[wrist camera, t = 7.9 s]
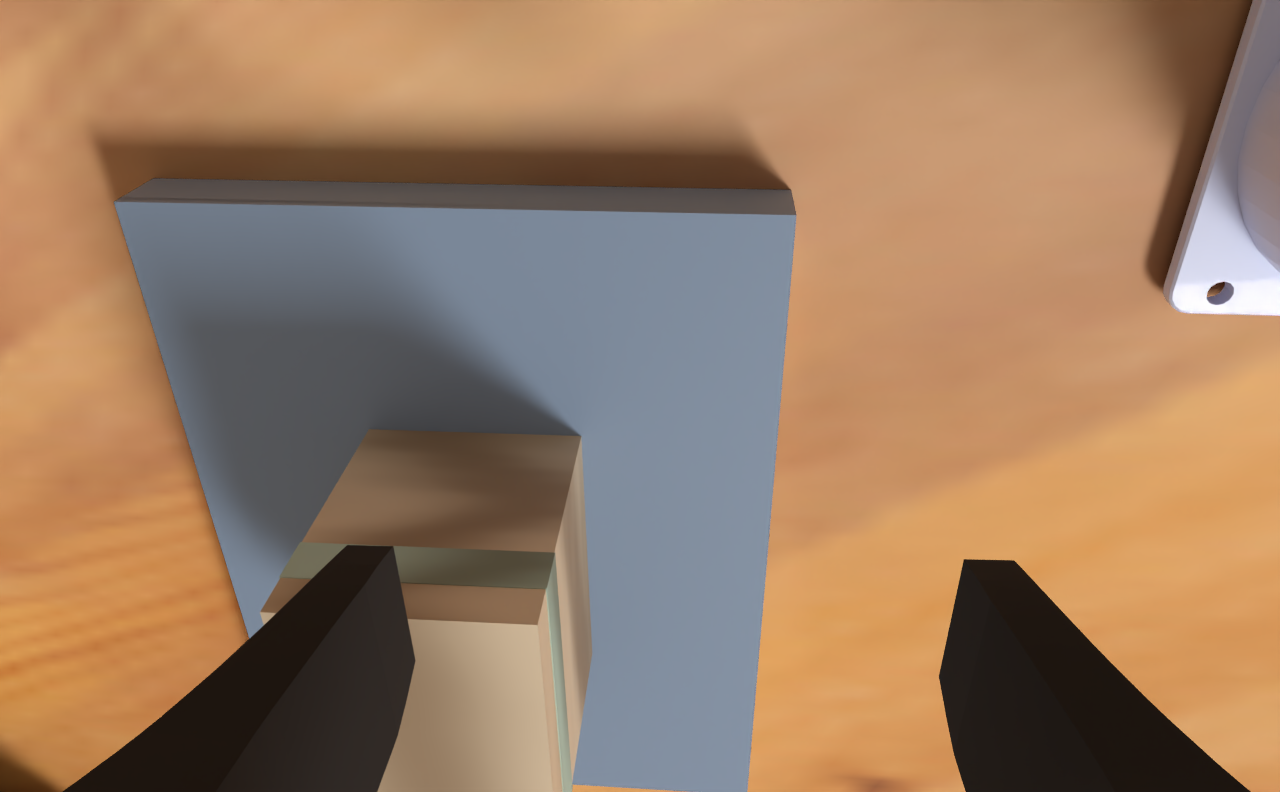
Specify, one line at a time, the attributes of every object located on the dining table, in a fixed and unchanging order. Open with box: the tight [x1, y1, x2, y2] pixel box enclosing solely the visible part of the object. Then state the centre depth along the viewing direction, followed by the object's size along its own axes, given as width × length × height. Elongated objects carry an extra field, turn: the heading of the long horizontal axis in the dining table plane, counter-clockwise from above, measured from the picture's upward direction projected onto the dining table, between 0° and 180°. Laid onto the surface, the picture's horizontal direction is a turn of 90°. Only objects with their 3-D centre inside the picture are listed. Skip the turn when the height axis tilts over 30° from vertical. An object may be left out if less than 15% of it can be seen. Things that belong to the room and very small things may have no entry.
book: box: [114, 178, 796, 792], centre depth 24 cm, size 14×18×2 cm
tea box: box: [260, 429, 592, 792], centre depth 21 cm, size 5×7×6 cm
